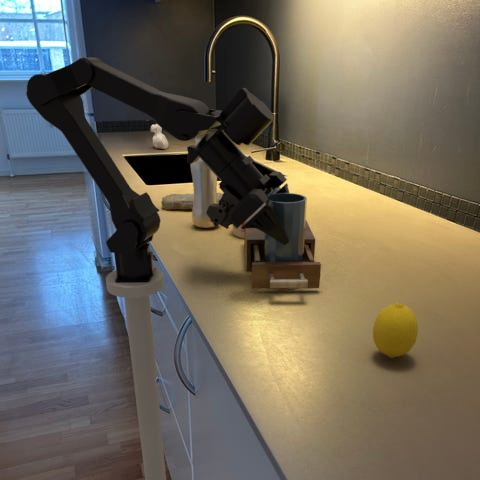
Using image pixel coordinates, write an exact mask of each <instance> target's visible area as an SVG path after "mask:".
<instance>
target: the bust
mask: <svg viewBox="0 0 480 480" xmlns="http://www.w3.org/2000/svg"><path fill="white" fill-rule="evenodd" d="M150 132H151V133H154V134H153V137H152V145H153V147H154V148H155V149H158V150H159V149H160V150H167V149H168V148H169V141H168V139H167V137H166V136H165V134H163V133H162V132H163V129H162V128H161V127H160V126H159V125H158V124H157V123H155V124H152V125H150Z"/></svg>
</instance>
